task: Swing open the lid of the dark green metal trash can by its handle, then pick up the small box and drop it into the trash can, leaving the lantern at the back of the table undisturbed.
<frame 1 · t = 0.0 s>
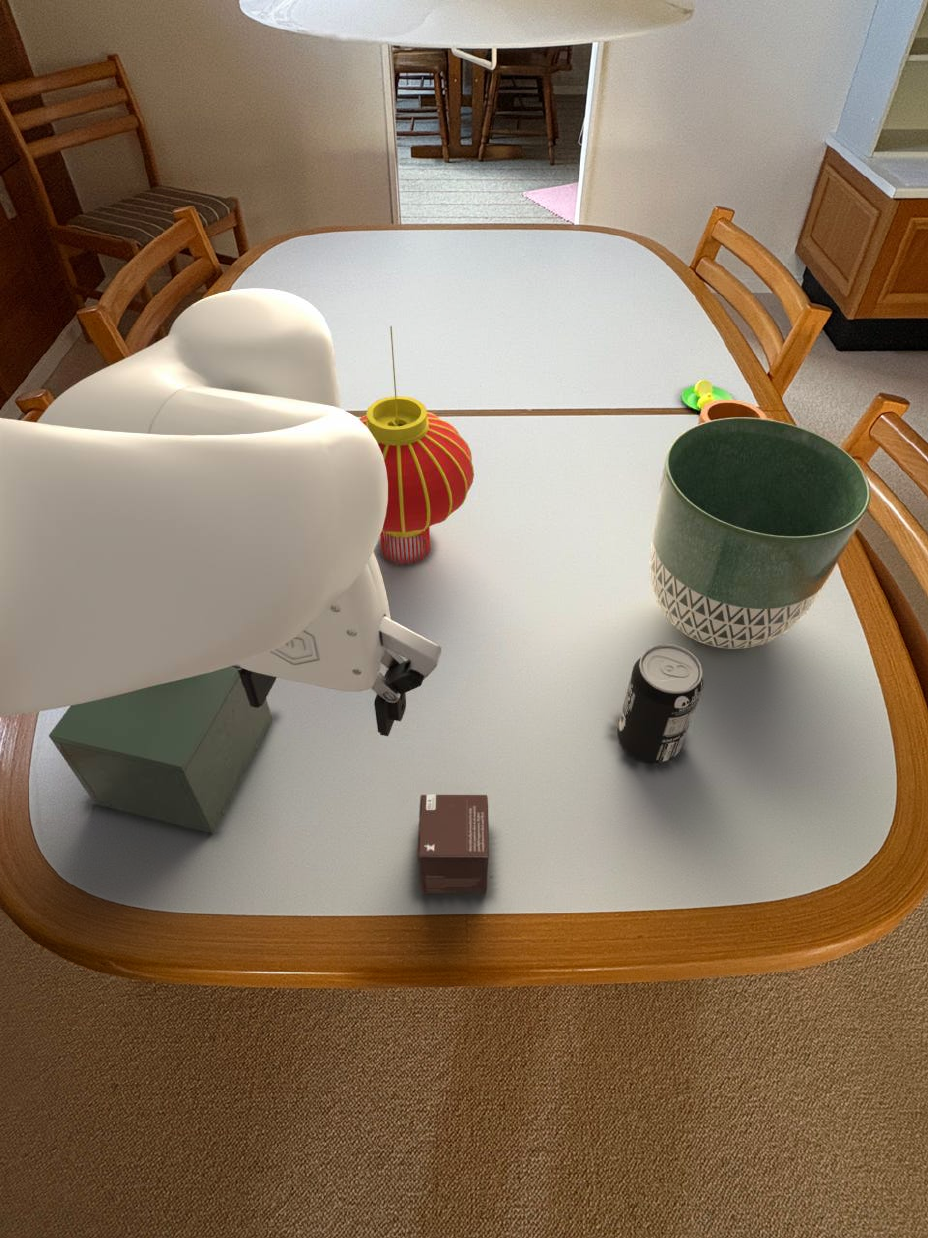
hand: (326, 705, 57), 22 cm above the table, tool pointing down, fingers open, 9 cm apart
bin lid: (151, 674, 70), point 13 cm above the table, hinge at 0.0°
box: (454, 864, 72), on the table
planter: (713, 621, 93), on the table
beverage can: (647, 741, 81), on the table
mug: (728, 473, 112), on the table
lantern: (406, 549, 101), on the table
green dish: (706, 402, 125), on the table
beverage cup: (211, 499, 108), on the table
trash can: (187, 759, 79), on the table
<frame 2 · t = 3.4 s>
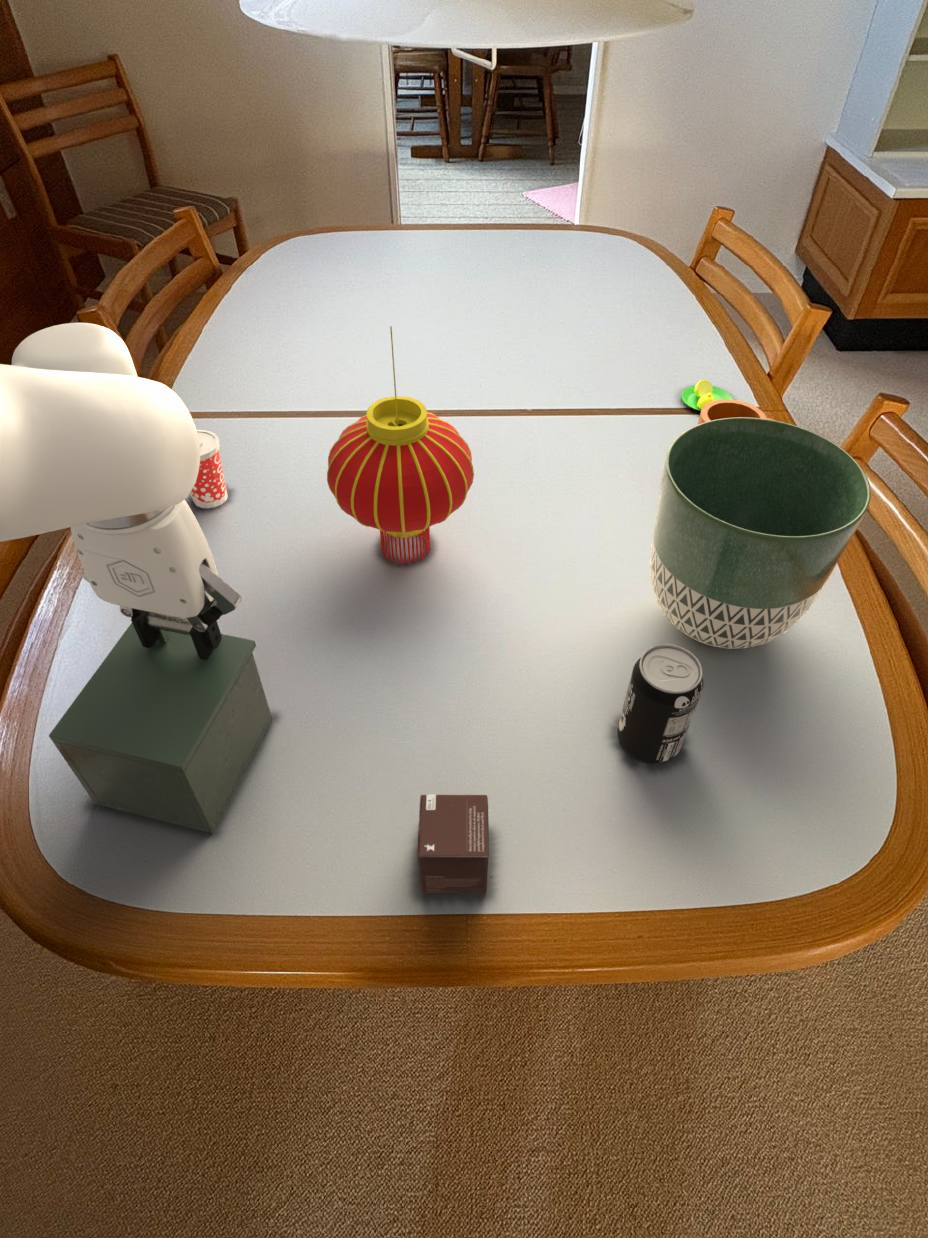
hand: (182, 641, 74), 12 cm above the table, tool pointing down, fingers closed on bin lid, 5 cm apart
bin lid: (151, 674, 70), point 13 cm above the table, hinge at 0.0°, touching gripper
everything else where it was.
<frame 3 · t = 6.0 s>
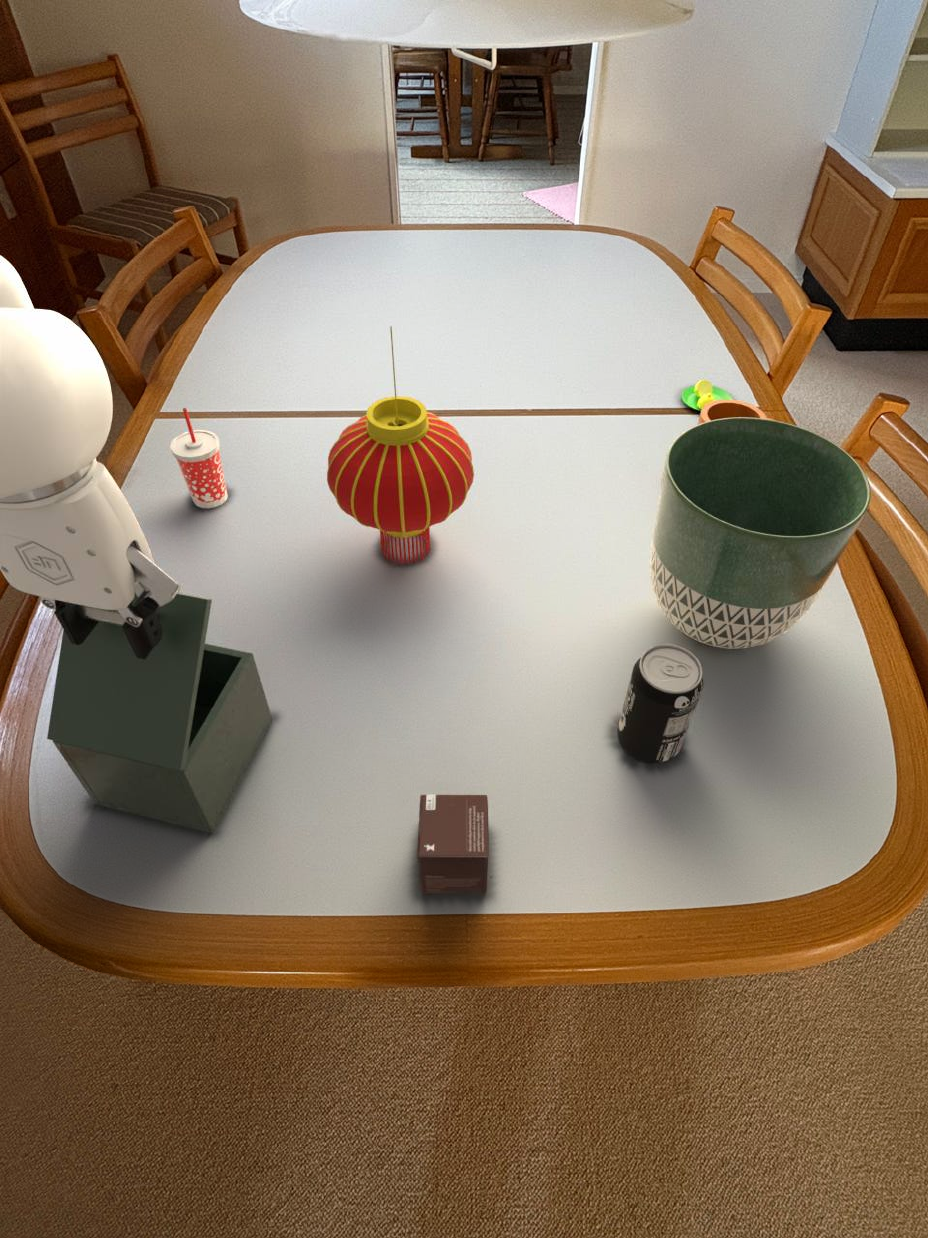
hand: (118, 637, 64), 20 cm above the table, tool pointing down, fingers closed on bin lid, 5 cm apart
bin lid: (113, 672, 64), point 18 cm above the table, hinge at 45.3°, touching gripper
everything else where it was.
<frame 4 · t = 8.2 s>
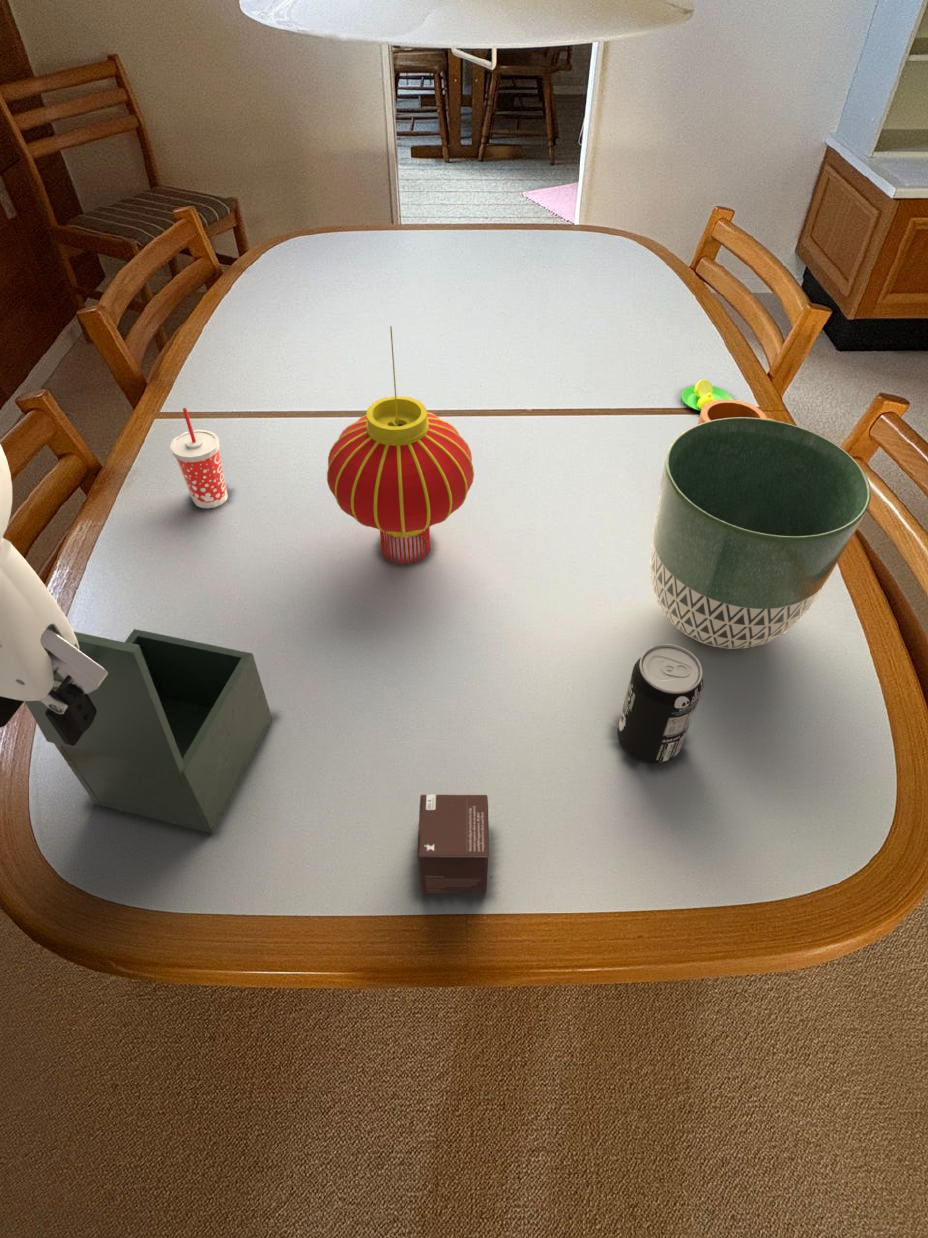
hand: (45, 718, 57), 21 cm above the table, tool pointing down, fingers closed on bin lid, 5 cm apart
bin lid: (73, 717, 60), point 19 cm above the table, hinge at 86.1°, touching gripper
everything else where it was.
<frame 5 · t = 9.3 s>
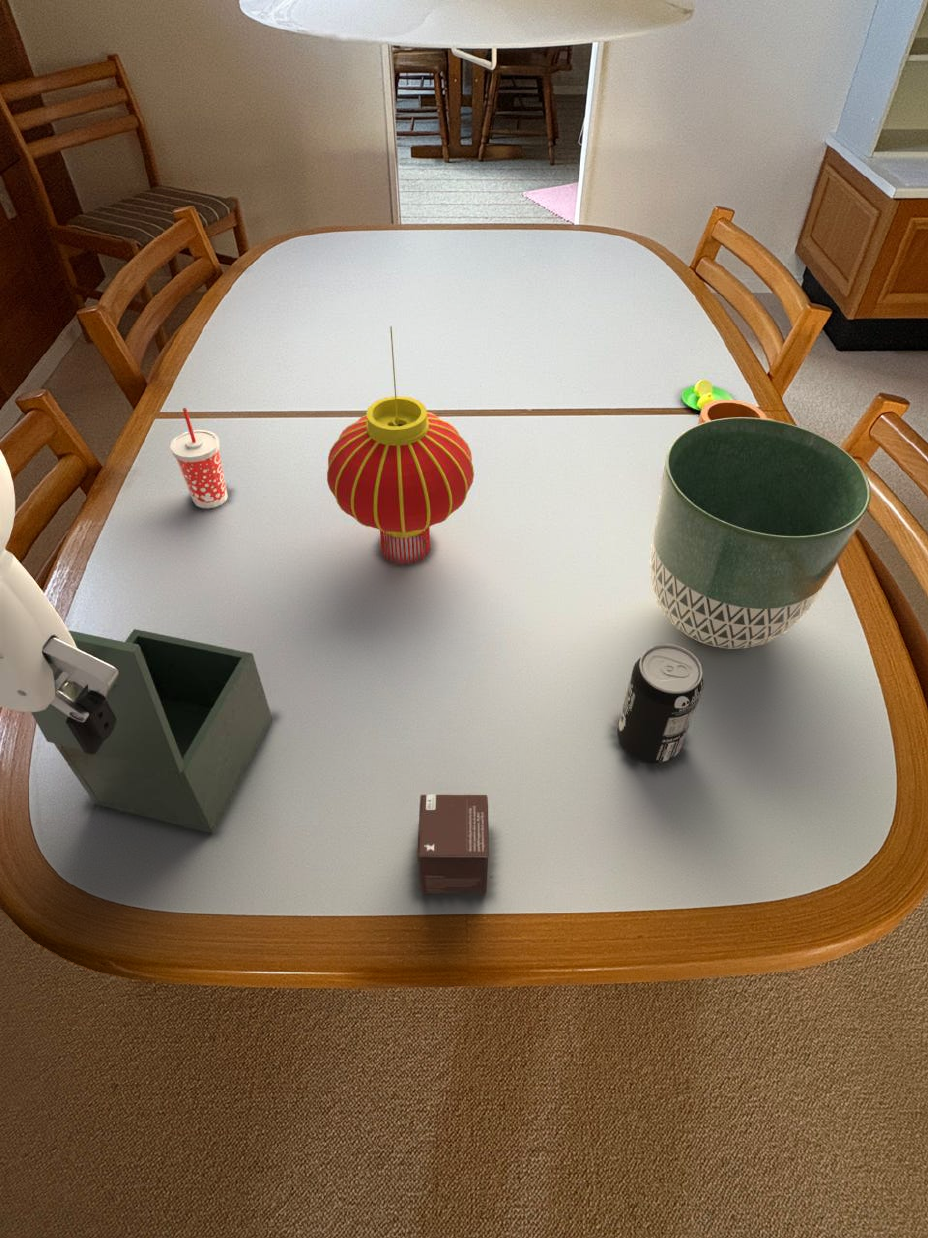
hand: (42, 723, 57), 21 cm above the table, tool pointing down, fingers open, 9 cm apart
bin lid: (73, 717, 60), point 19 cm above the table, hinge at 86.0°
everything else where it was.
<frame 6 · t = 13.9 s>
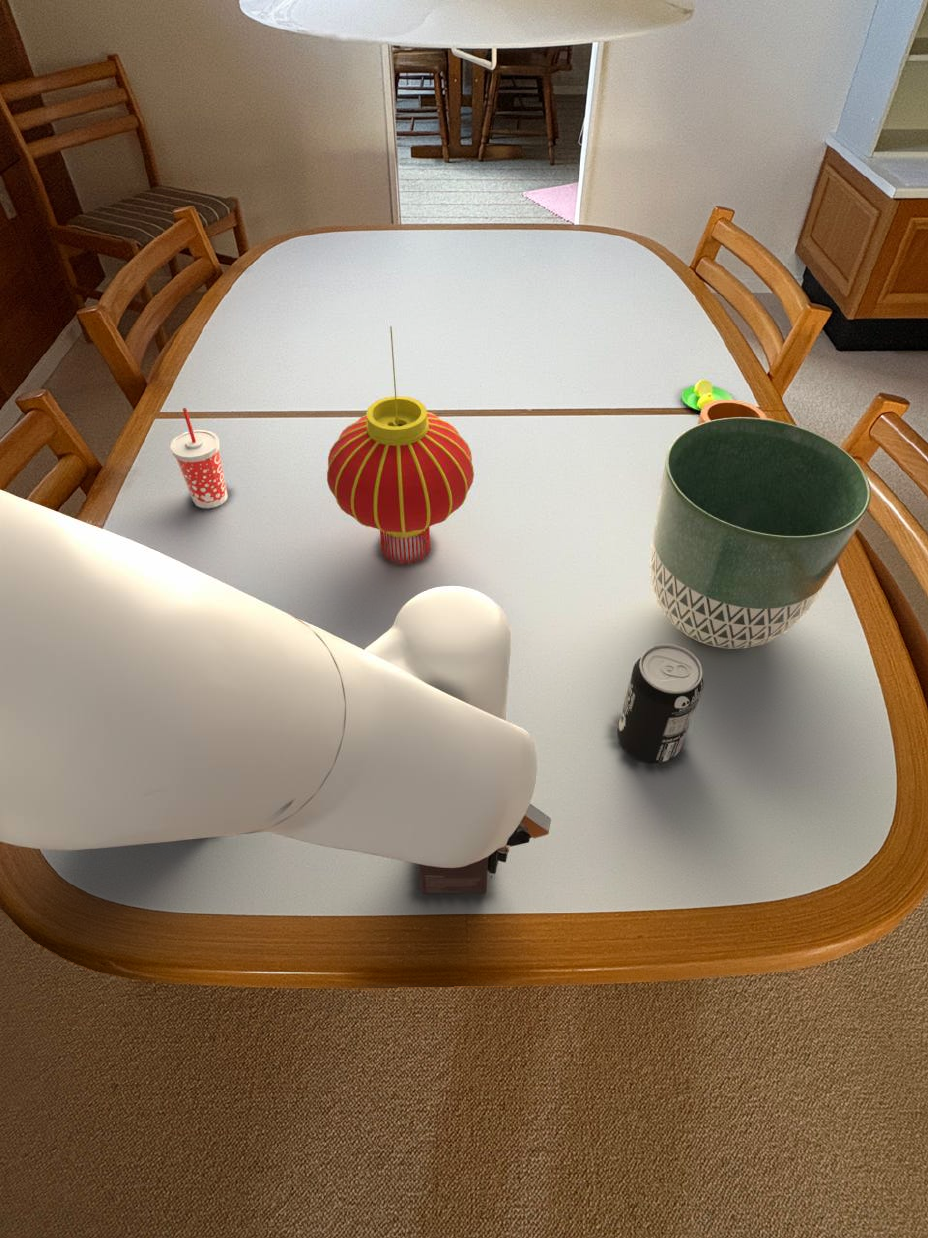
hand: (453, 847, 70), 3 cm above the table, tool pointing down, fingers closed on box, 6 cm apart
box: (453, 864, 72), on the table, touching gripper
everything else where it was.
when the fingers open (11 cm above the table, at t = 23.4 s): box drops 7 cm, resting on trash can.
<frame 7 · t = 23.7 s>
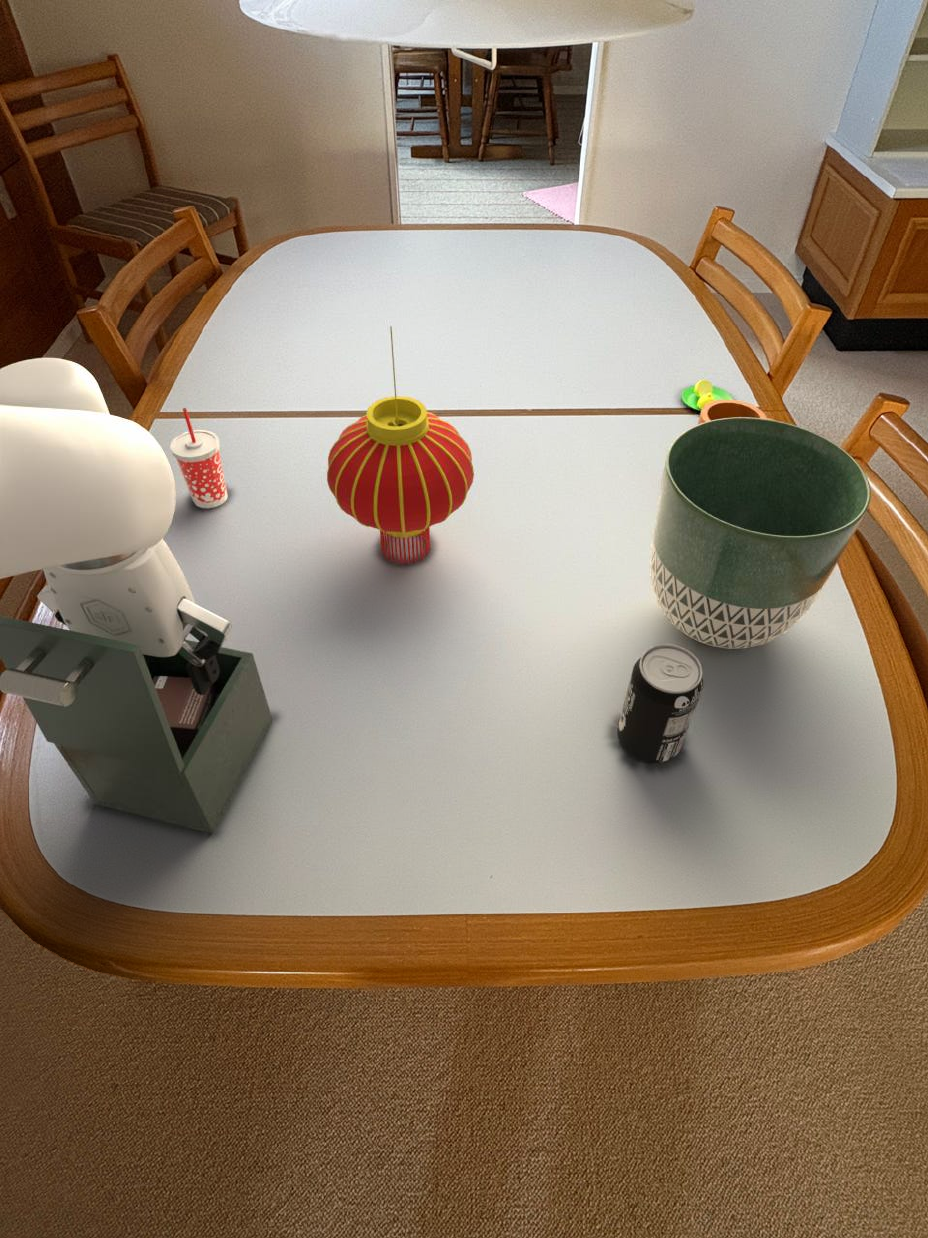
hand: (159, 671, 71), 13 cm above the table, tool pointing down, fingers open, 9 cm apart
box: (193, 745, 80), point 1 cm above the table, touching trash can
everything else where it was.
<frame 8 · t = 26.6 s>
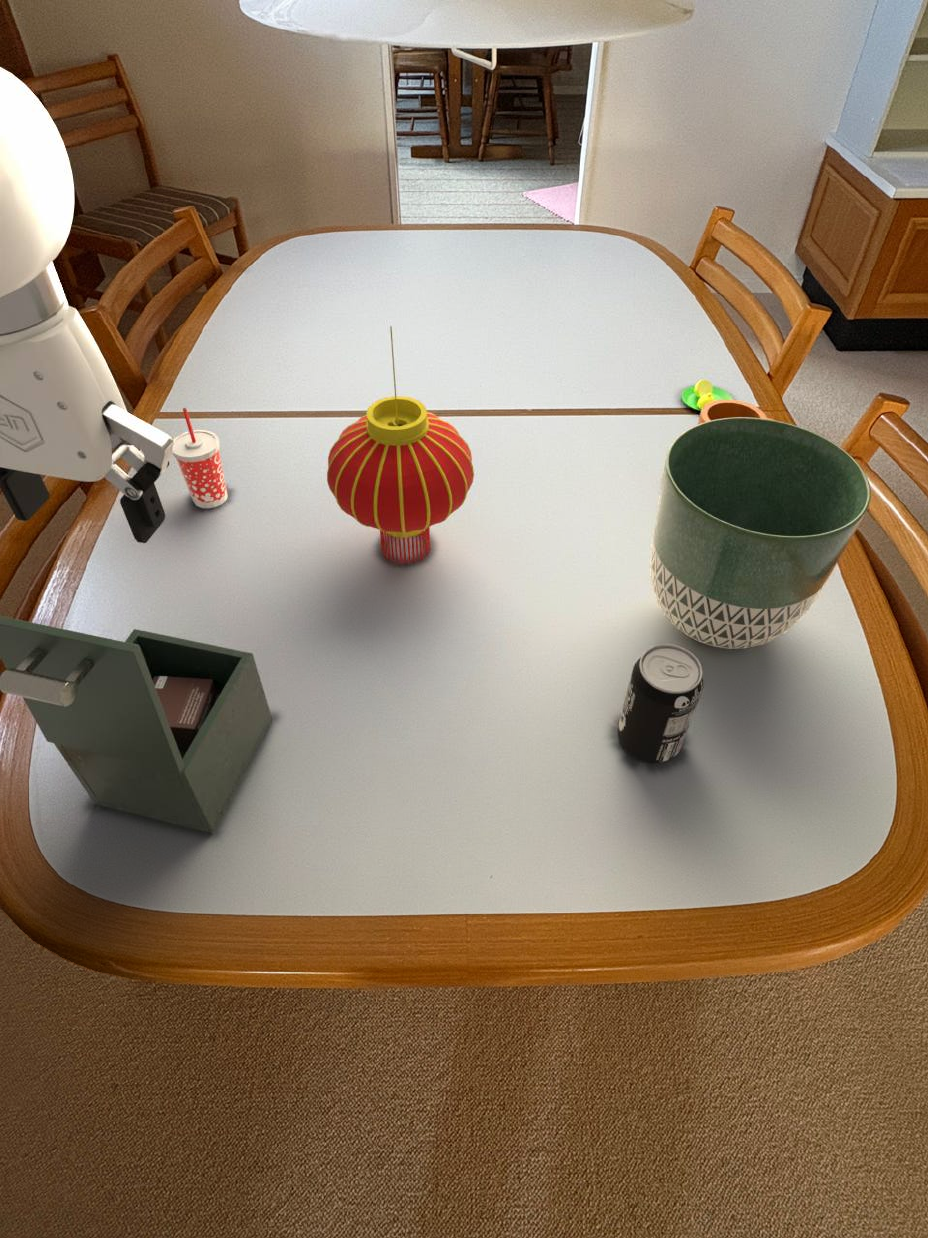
hand: (92, 519, 58), 30 cm above the table, tool pointing down, fingers open, 9 cm apart
nothing on the table moved.
at the end: bin lid at +86° (first picture: +0°); box inside the target area in the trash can (1.4 cm from its centre), point 0.6 cm above the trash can's base; lantern moved 0.2 cm from its start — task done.
